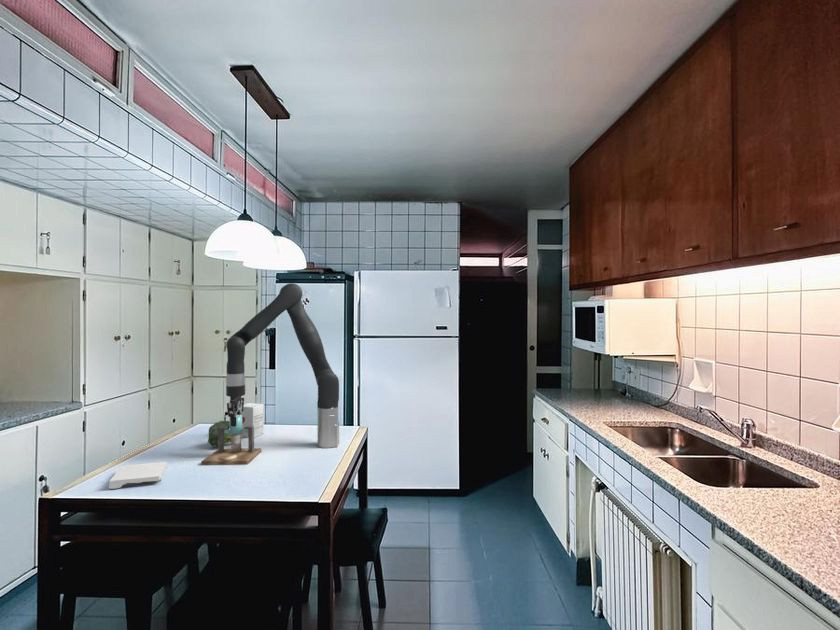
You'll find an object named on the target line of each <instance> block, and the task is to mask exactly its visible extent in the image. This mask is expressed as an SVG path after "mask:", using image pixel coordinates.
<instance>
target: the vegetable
mask: <svg viewBox="0 0 840 630" xmlns="http://www.w3.org/2000/svg"><path fill="white" fill-rule="evenodd" d="M220 426H228V429H224V431H225V430H230V420H219V421H218V422H214V423H213V424H212V425H210V427H209V428H208V440H207V442H208V443H209V445H210V446H213V447H215V448H217V449H218V427H220ZM242 441H243V437H242V436H241V442H242ZM228 443H231V434H230V433H224V445H225V444H228Z"/></svg>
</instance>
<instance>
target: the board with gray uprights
mask: <svg viewBox="0 0 840 630" xmlns="http://www.w3.org/2000/svg"><path fill="white" fill-rule="evenodd" d="M224 429H228V426H220V427H218V448H217V450H215V451H214V452H213V453H211V454H210V455H208V456H206V457H205V458H204V459H203V460H201V462H200V465H201V466H232V465H233V466H234V465H235V466H240V465H241V466H245V465H249V464H250V463H251V462H252V461H254V459H255V458H257V457H258V456H259V455H260V454H261V453H262V447H257V448H255V437H254V426H245V427H244V429H248V438H247V439H248V440H247V441H248V442H247V447H248V448H242V441H241V433H240V434H231V442H230V448H225V444H224Z"/></svg>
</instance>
